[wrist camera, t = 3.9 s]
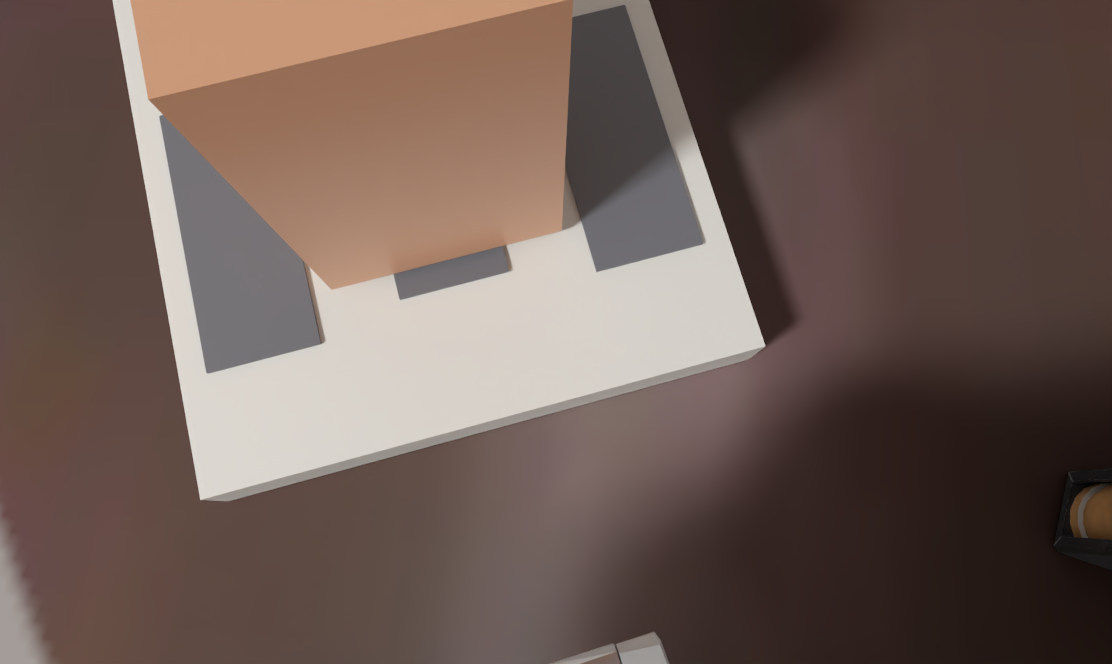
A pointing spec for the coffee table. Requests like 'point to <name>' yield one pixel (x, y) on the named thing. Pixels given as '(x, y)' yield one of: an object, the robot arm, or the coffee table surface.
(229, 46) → the tan rectangular block
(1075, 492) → the ammunition clip
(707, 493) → the coffee table surface
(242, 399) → the switch board
